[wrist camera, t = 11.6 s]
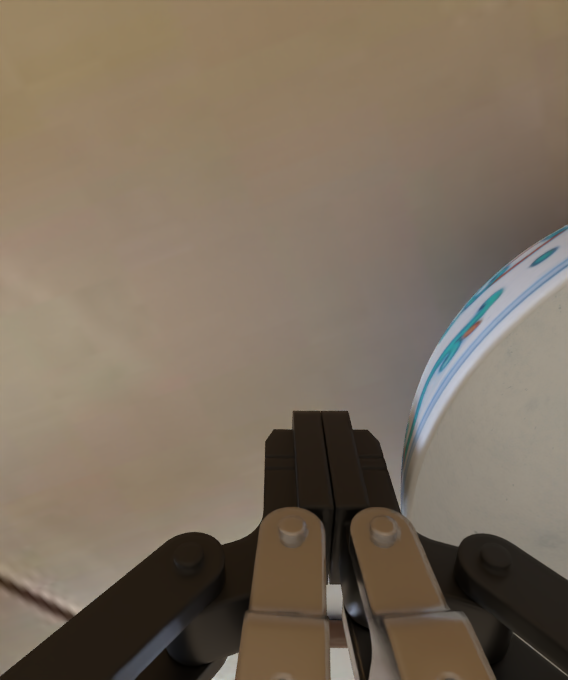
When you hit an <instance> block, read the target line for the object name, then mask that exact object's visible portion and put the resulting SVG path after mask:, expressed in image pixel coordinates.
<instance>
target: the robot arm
mask: <svg viewBox="0 0 568 680" xmlns="http://www.w3.org/2000/svg"><path fill="white" fill-rule="evenodd" d="M328 574H329V583H330V584H341V588H342V595H343V604H342V615H341V616H342V622H343V627H344V632H345V636H346V641H347V646H348V651H349V655H350V660H351V665H352V670H353V674H354V679H355V680H568V676H566V675H565V674H564V673H566V674H567V675H568V580H567V579H565V578H564V577H562V576H561V575H559V574H558V573H556V572H555V571H553V570H552V569H550V568H549V567H547V566H546V565H544V564H543V563H541V562H540V561H538V560H537V559H535V558H534V557H532V556H531V555H529V554H528V553H526V552H525V551H523V550H522V549H520V548H519V547H517V546H516V545H514V544H513V543H511V542H509V541H508V540H506V539H504V538H501V537H499V536H496V535H492V534H485V533H478V534H472V535H470V536H467V537H466V538H464V539H463V540H462V541H461V543H460V545H459V547H458V546H454V545H450V544H446V543H443V542H439V541H435V540H432V539H429V538H427V537H425V536H423V535H421V534H419V533H418V532H416V530H415V528H414V526H413V524H412V523H411V522H410V521H409V520H408V519H407V518H406V517H405V516H404V515H402V514H401V512H400V508H399V505H398V502H397V499H396V495H395V492H394V489H393V486H392V482H391V479H390V476H389V472H388V470H387V466H386V463H385V459H384V458H383V453H382V449H381V446H380V443H379V441H378V440H377V439H376V438H375V437H374V436H373V435H372V434H371V433H370V432H369V431H368V430H352V426H351V421H350V417H349V413H348V411H321V412H320V411H293V418H292V430H285V429H274V430H273V431H272V433H271V434H270V436H269V437H268V439H267V440H266V441H265V477H264V512H263V518H262V521H261V523H260V524H259V526H258V527H257V528H256V529H255V530H254V531H253V532H252V533H251V534H249V535H248V536H246V537H244V538H242V539H240V540H237V541H234V542H231V543H227V544H224V545H221V544H220V543H219V541H218V540H216V539H215V538H214V537H212V536H210V535H208V534H205V533H200V532H190V533H184V534H180V535H178V536H175V537H173V538H171V539H170V540H168V541H167V542H165V543H164V544H163V545H162V546H160V547H159V548H158V549H157V550H156V551H154V552H153V553H152V554H151V555H149V556H148V557H147V558H146V559H144V560H143V561H142V562H141V563H140V564H138V565H137V566H136V567H135V568H133V569H132V570H131V571H130V572H128V573H127V574H126V575H125V576H124V577H122V578H121V579H120V580H119V581H117V582H116V583H115V584H114V585H112V586H111V587H110V588H109V589H107V590H106V591H105V592H104V593H103V594H101V595H100V596H99V597H98V598H96V599H95V600H94V601H93V602H91V603H90V604H89V605H88V606H87V607H85V608H84V609H83V610H82V611H80V612H79V613H78V614H77V615H75V616H74V617H73V618H72V619H70V620H69V621H68V622H67V623H66V624H64V625H63V626H62V627H61V628H59V629H58V630H57V631H56V632H54V633H53V634H52V635H51V636H50V637H48V638H47V639H46V640H45V641H43V642H42V643H41V644H40V645H38V646H37V647H36V648H35V649H34V650H32V651H31V652H30V653H29V654H27V655H26V656H25V657H24V658H22V659H21V660H20V661H19V662H17V663H16V664H15V665H14V666H13V667H11V668H10V669H9V670H8V671H6V672H5V673H4V674H3V675H1V676H0V680H211V679H212V678H213V677H214V676H215V674H216V673H217V672H218V671H219V670H220V668H221V667H222V666H223V664H224V663H225V661H226V659H227V656H230V655H233V654H235V653H238V652H239V655H238V662H237V669H236V676H235V680H331V678H330V635H329V617H328V616H327V604H326V585H328ZM513 632H514V633H515V634H517V635H518V636H519V637H520V638H522V639H523V640H524V641H525V642H527V643H528V644H529V645H530V646H532V647H533V648H534V649H535V650H537V651H538V652H539V653H540V654H542V655H543V656H544V657H546V658H547V659H548V660H549V661H551V662H552V663H553V664H554V665H556V666H557V667H558V668H559V669H561V670H562V671H563V672H564V673H563V672H561V671H560V670H559V669H558V668H556V667H555V666H554V665H553V664H551V663H550V662H549V661H548V660H546V659H545V658H544V657H543V656H541V655H540V654H539V653H538V652H536V651H535V650H534V649H532V648H531V647H530V646H529V645H527V644H526V643H525V642H524V641H522V640H521V639H520V638H519V637H517V636H516V635H515V634H514V633H513Z"/></svg>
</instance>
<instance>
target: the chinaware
mask: <svg viewBox="0 0 568 680" xmlns="http://www.w3.org/2000/svg"><path fill="white" fill-rule="evenodd" d="M401 514H402V515H404V516H405V517H406V518H407V519H408V520H409V521H410V522H411V523H412V524H413V526H414V528H415V530H416V532H418V533H419V534H421V535H423V536H425V537H427V538H429V539H432V540H435V541H439V542H443V543H446V544H450V545H454V546H458V547H459V545H460V543H461V541H462V540H463V539H464V538H466V537H467V536H470V535H472V534H478V533H485V534H492V535H496V536H499V537H501V538H504V539H506V540H508V541H509V542H511V543H513V544H514V545H516V546H517V547H519V548H520V549H522V550H523V551H525V552H526V553H528V554H529V555H531V556H532V557H534V558H535V559H537V560H538V561H540V562H541V563H543V564H544V565H546V566H547V567H549V568H550V569H552V570H553V571H555V572H556V573H558V574H559V575H561V576H562V577H564V578H565V579H567V580H568V225H566V226H564V227H562V228H560V229H558V230H557V231H555V232H553V233H551V234H550V235H548V236H546V237H545V238H543V239H541V240H540V241H538V242H537V243H535V244H534V245H532V246H531V247H529V248H528V249H526V250H525V251H523V252H522V253H521V254H519V255H518V256H517V257H515V258H514V259H513V260H511V261H510V262H509V263H508V264H506V265H505V266H504V267H503V268H502V269H500V270H499V271H498V272H497V273H496V274H495V275H494V276H492V277H491V278H490V279H489V280H488V281H487V282H486V283H485V284H484V285H483V286H482V287H481V288H480V289H479V290H478V291H477V292H476V293H475V294H474V295H473V296H472V298H471V299H470V300H469V301H468V302H467V303H466V304H465V306H464V307H463V308H462V309H461V310H460V312H459V313H458V314H457V316H456V317H455V318H454V320H453V321H452V322H451V324H450V325H449V327H448V328H447V330H446V331H445V333H444V334H443V336H442V338H441V339H440V341H439V343H438V344H437V346H436V348H435V350H434V352H433V354H432V356H431V357H430V359H429V361H428V364H427V366H426V368H425V370H424V372H423V375H422V377H421V380H420V383H419V385H418V388H417V391H416V394H415V397H414V400H413V404H412V407H411V411H410V415H409V419H408V424H407V429H406V434H405V441H404V448H403V457H402V469H401ZM513 633H514V632H513ZM514 634H515V633H514ZM515 635H516V636H517V637H519V636H518V635H517V634H515ZM519 638H520V637H519ZM520 639H521V640H522V641H524V640H523V639H522V638H520ZM524 642H525V641H524ZM525 643H526V644H527V645H529V644H528V643H527V642H525ZM529 646H530V645H529ZM530 647H531V648H532V649H534V648H533V647H532V646H530ZM534 650H535V649H534ZM535 651H536V652H538V651H537V650H535ZM538 653H539V652H538ZM539 654H540V653H539ZM540 655H541V656H543V655H542V654H540ZM543 657H544V656H543ZM544 658H545V659H546V660H548V659H547V658H546V657H544ZM548 661H549V660H548ZM549 662H550V663H551V664H553V663H552V662H551V661H549ZM553 665H554V664H553ZM554 666H555V667H556V668H558V667H557V666H556V665H554ZM558 669H559V668H558ZM559 670H560V671H561V672H563V671H562V670H561V669H559ZM563 673H564V672H563ZM564 674H565V675H566V676H568V675H567V674H566V673H564Z"/></svg>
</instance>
